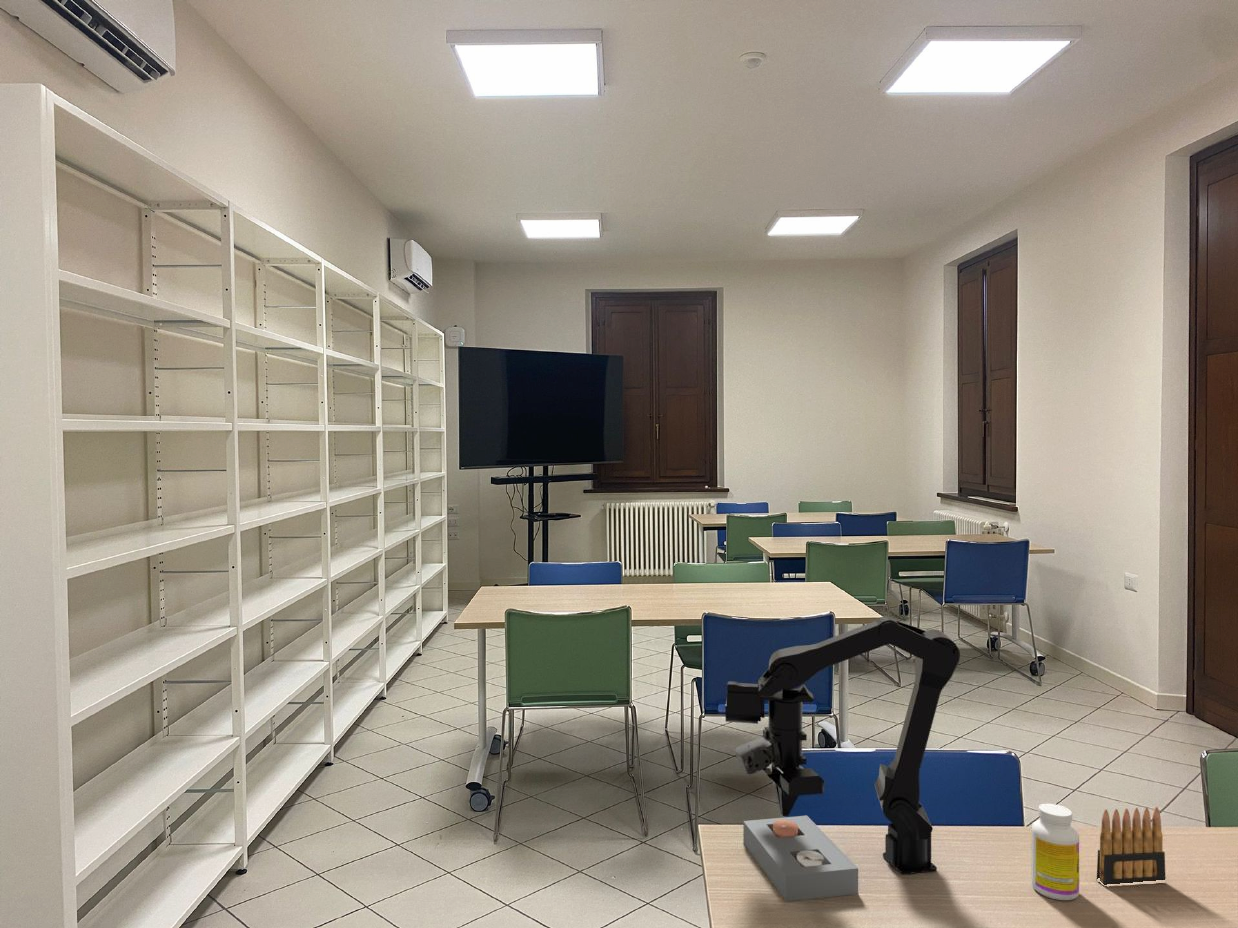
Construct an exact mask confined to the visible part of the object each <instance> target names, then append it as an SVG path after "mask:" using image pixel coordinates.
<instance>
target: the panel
mask: <svg viewBox="0 0 1238 928" xmlns="http://www.w3.org/2000/svg"><path fill="white" fill-rule="evenodd" d="M778 820H788V821H792V822H794V823H796V824H797V825H798V836H790V837H779V838H777V837H776V835H775V834H774V833H773V823H774V822H775V821H778ZM742 825H743V831H742V833H743V834H742V835H743V840H742V841H743V845H744V847H745V848H746V849H747V850H748V852H749V853H750V855H751V856H752V857H753V859H754V860H755V862H756V863H757V864H758V866H759V867H760V869H762V871H763V872H764V874H765V875H766V877H768V879H769V881H770V882H771V883H772V885H773V886H774V888H776V890H777V891H778V893H779V894H780V896H781V897H782V898H783V900H784V901H785V902H786V903H788V902H795V901H796V902H797V901H804V900H812V899H813V900H814V899H821V898H822V899H823V898H832V897H833V898H834V897H842V896H849V895H850V896H851V895H858V894H859V867H858V866H857V865H856V864H855V863H854V862H853V861H852V860H851V859H850V858H849V857H848V856H847V855H846V854H845V853H844V852H843V851H842V850H841V849H840V848H839V846H837V845H836V844H835V843H834V842H833V840H831V838H830V837H828V835H826V833H825V832H824V831H823V830H822V829H821V828H820V827H819V826H818V825H817V824H816V823H815V822H814V821H813V820H812V819H811V818H810V817H809V816H808V815H797V816H784V817H775V818H763V819H752V820H751V819H750V820H743V823H742ZM805 850H809V851H815V852H818V853H820V854H821V855H822V856H823V857H824V865H818V866H808V867H802V866H801V865H800V864H799V863H798V862H797V853H798V852H800V851H805Z"/></svg>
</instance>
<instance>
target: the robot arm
mask: <svg viewBox="0 0 1238 928" xmlns="http://www.w3.org/2000/svg"><path fill="white" fill-rule="evenodd" d="M887 645H891V646H893V647H896V648H897V649H900V650H902V651H904V652H906V653H908V654H910V655H913V657H914V674H915V675H914V676H915V677H914V684H913V688H912V691H911V695H910V699H909V701H908V702H909V703H908V706H907V710H906V714H905V718H904V721H903V725H902V728H901V732H900V736H899V741H898V744H897V746H896V752H895V755H894V758H893V760H892V761H891V762H890V763H889V765H888V766H887V765H885V764H883V763H879V770H878V777H877V780H876V781H875V782H874V784H873V785H874V788H875V790H876V791H875V792H876V796H877V798H878V801H879V804H880V808H881V810H882V813H883V815H884V816H885V819H887V820H888V821H889V822H890V823H888V824H887V833H886V834H885V837H884V838H885V840H884V842H885V844H884V845H885V848H884V849H885V852H882V857H883V858H884V859H885V860H886V861H887V862H888V863H890V865H891V866H892V867H894V868H895V870H896V871H898V872H899V873H900V874H902V875H909V874H918V873H928V872H937V871H938V869H937V868H938V867H937V866H936V865H935V864H934V863H933V862H932V832H933V830H934V828H933V826H932V824H931V822H930V820H929V817H928V815H927V813H926V810H925V808H924V806H923V804H922V803H920V798H921V796H920V795H921V788H920V785H921V784H920V770H921V766H922V764H923V760H924V755H925V752H926V749H927V745H928V740H929V738H930V733H931V730H932V726H933V724H934V723H933V722H934V718H935V716H936V711H937V709H938V704H939V700H940V697H941V693H942V691H943V689H944V688H945V687H946V686H947V684H948V683H949V682H950V680H951V679H952V678H953V675H954V673H955V671H956V669H957V667H958V665H959V663H960V659H961V652H960V649H959V647H958V645H957V643H955V642H954V641H953V640H952V639H951V638H950V637H949V636H948V635H947V634H946V633H945V632H944V631H941V630H939V629H929V630H925V629H922V628H919V627H917V626H914V625H911V624H908V623H905V622H902V621H899V620H896V619H895V618H894V617H892V616H888V615H887V616H886V615H885V616H881V617H879V618H877V619H876V620H875V621H872V622H869V623H867V624H864V625H861V626H859V627H856V628H853V629H850V630H849V631H846V632H843V633H839V634H838V635H835V636H832V637H831V638H828V639H825V640H823V641H820V642H817V643H813V644H808V645H806V644H805V645H795V646H791V647H786V648H785V647H784V648H780V649H778V650H775V651H774V652H773V653H772V654H771V656H770V658H769V661H768V668H767V669H766V670H765V672H764V673H762V676H760V678H759V679H758V683H747V682H746V683H745V682H738V681H727V684H726V687H727V688H726V699H725V700H726V701H725V705H724V706H725V707H724V709H725V710H724V711H725V712H724V713H725V715H724V716H725V722H726V723H735V724H737V723H741V724H754V725H759V722H761V721H762V719H765V712H766V711H765V707H766V706H765V704H766V701H768V726H764V729H763V730H762V737H759V738H756V739H753V740H750V741H748V742H746V743H743V744H741V745H739V746H737V747H736V748H735V749H734V750H735V755H736V756H737V759H738V763H739V766H740V767H741V769H743V770H744V771H745V773H746V774H747V775H754V774H756V773H757V772H760V771H762V772H763V773H764V774H765V775H766V776H767V777H768V779H770V780H771V782H772V784H773V788H774V792H775V795H776V799H777V803H778V807H779V811H780V814H781V815H782V817H789V815H790V813H791V812H792V810H793V808H794V806H795V804H796V801H797V800H798V798H799V796H810V795H811V796H812V795H821V794H822V795H823V794H824V793H825V780H824V779H823V778H822V777H821V776H820V775H819V774H818V773H817V772H816V771H815V770H813V769H812V768H811V767H806V768H805V767H803V766H801V765H804V766H805V765H807V757H805V756H804V755H803V741H807V739H808V738H807V737H808V736H807V733H805V732H804V731H803V703H810V704H811V703H814V701H815V700H814V695H813V693H812V692H811V691H809V689H808V688H807V687H806V685H805V683H806V682H808V681H809V680H811V679H812V678H814V677H815V676H816V675H817V674H819V673H820V672H821V671H823V670H825V669H826V668H829V667H831V666H834V665H837V664H839V663H842V662H845V661H847V660H850V659H852V658H855V657H858V656H861V655H864V654H867V653H869V652H871V651H874V650H876V649H879V648H882V647H885V646H887ZM799 686H800V687H799Z"/></svg>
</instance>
